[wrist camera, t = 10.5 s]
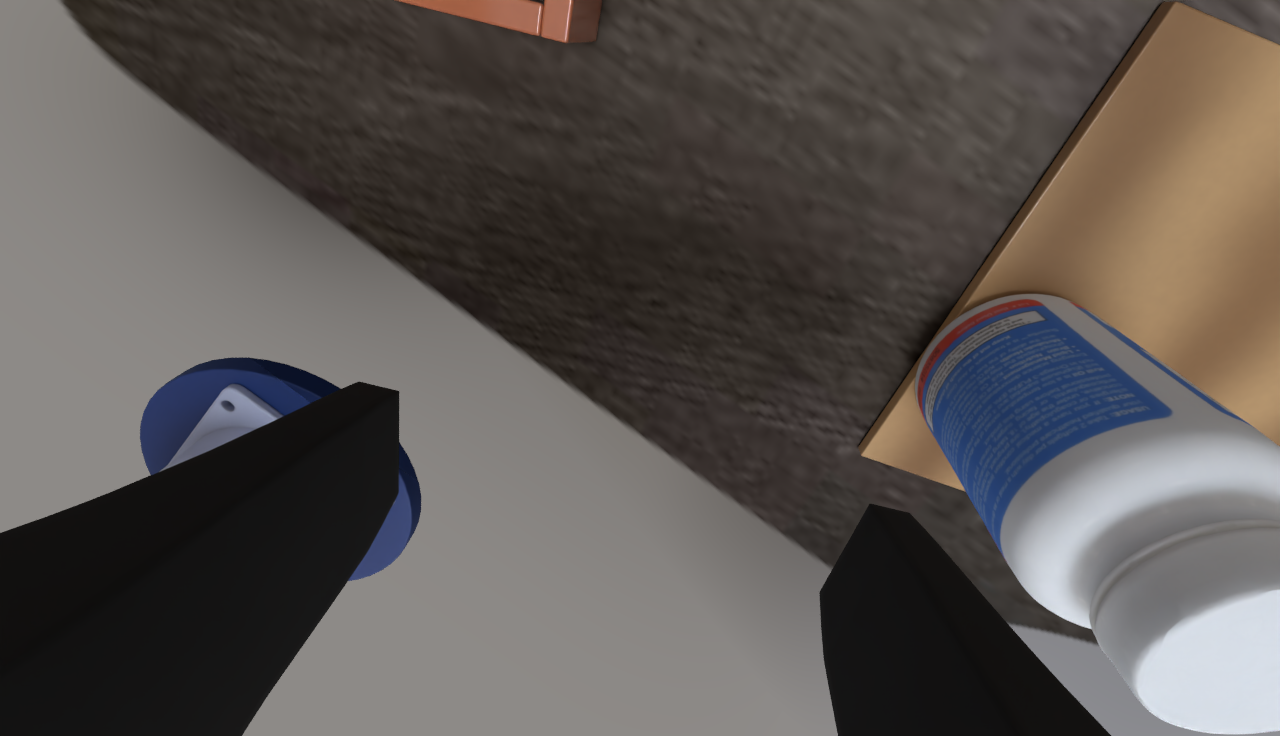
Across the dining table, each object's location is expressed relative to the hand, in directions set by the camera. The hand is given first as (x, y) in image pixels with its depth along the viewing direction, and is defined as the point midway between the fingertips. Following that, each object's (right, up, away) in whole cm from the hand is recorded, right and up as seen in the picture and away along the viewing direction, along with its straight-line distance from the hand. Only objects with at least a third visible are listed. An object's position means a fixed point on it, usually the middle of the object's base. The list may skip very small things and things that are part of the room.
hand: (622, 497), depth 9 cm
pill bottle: (+12, +2, +9) cm, 15 cm away
